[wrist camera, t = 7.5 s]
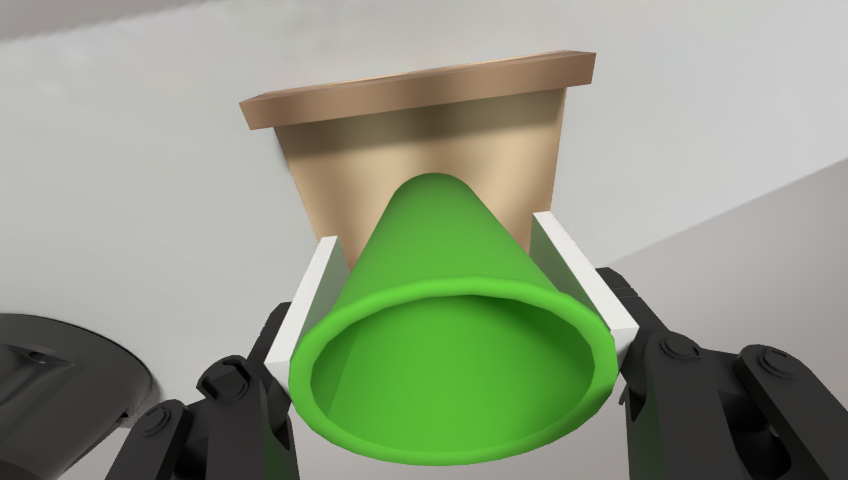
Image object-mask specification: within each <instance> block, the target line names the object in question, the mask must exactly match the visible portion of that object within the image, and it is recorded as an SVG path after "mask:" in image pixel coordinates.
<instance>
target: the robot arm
mask: <svg viewBox="0 0 848 480" xmlns="http://www.w3.org/2000/svg"><path fill="white" fill-rule="evenodd" d="M529 257H530V258H531V259H532V260H533V262H534V263H535V264H536V265H537V266H538V267H539V268H540V270H541V271H542V272H543V273H544V274H545V275H546V277H547V278H548V279H549V280H550V281H551V282H552V284H553V285H554V286H555V287H556V288H557V289H558V291H560V292H563V293H566V294H568V295H570V296H572V297H573V298H575V299H576V300H577V301H579V302H580V303H582V304H583V305H585V306H586V307H587V308H589V309H590V310H592V311H593V312H595V313H596V314H597V315H599V317H600V318H601V320H602V321H603V323H604V324H605V326H606V327H607V329H608V330H609V332H610V333H611V334H612V336H613V337H614V340H615V347H616V354H617V361H618V374H617V377H618V375H619V372H621V374H622V375H623V377H624V379H625V380H626V382H627V384H626V386H625V388H624V390H623V392H622V394H621V397H620V399H619V404H620V405H623V403H624V401H625V409H626V426H627V443H628V459H629V476H630V480H848V411H847V410H846V409H845V408H844V407H843V406H842V405H841V404H840V402H839V401H838V400H837V399H836V398H835V397H834V396H833V395H832V394H831V392H830V391H829V390H828V389H827V388H826V387H825V386H824V385H823V384H822V382H821V381H820V380H819V379H818V378H817V377H816V376H815V375H814V374H813V373H812V371H811V370H810V369H809V368H808V367H806V366H805V365H804V364H803V363H802V362H801V361H800V360H798V359H796V358H795V357H792V356H791V355H789V354H787V353H786V352H784V351H781V350H779V349H776V348H773V347H770V346H765V345H760V344H756V345H748V346H746V347H745V348H743V349H742V350H741V352H740V353H739V354H732V353H726V352H720V351H713V350H708V349H704V348H701V347H700V346H699V345H698V344H697V343H695V342H694V341H693V340H691V339H689V338H688V337H686V336H684V335H681V334H678V333H676V332H672V331H670V330H668V329H667V328H666V326H665V325H664V324H663V323H662V322H661V320H660V319H659V318H658V317H657V316H656V315H655V314H654V312H653V311H652V310H651V309H650V308H649V307H648V306H647V304H646V303H645V302H644V301H643V300H642V299H641V297H638V294H637V293H636V292H635V291H634V289H633V288H631V286H630V285H629V284H628V283H627V281H626V280H625V279H624V278H623V277H622V276H621V275H620V274H618V273H617V272H615V271H613V270H612V269H610V268H609V267H606V268H596V269H594V268H593V266H592V265H591V264H590V263H589V261H588V260H587V259H586V257H585V256H584V255H583V253H582V252H581V251H580V250H579V248H578V247H577V246H576V244H575V243H574V242H573V241H572V239H571V238H570V237H569V235H568V234H567V233H566V232H565V230H564V229H563V228H562V226H561V225H560V224H559V223H558V221H557V220H556V219H555V217H554V216H553V215H552V214H551V212H550V211H546V212H537V213H533V216H532V226H531V236H530V246H529ZM350 274H351V273H350V270H349V267H348V264H347V261H346V258H345V255H344V253H343V250H342V247H341V244H340V241H339V238H338V236H330V237H322V239H321V241H320V243H319V245H318V247H317V249H316V252H315V254H314V256H313V258H312V260H311V262H310V265H309V267H308V269H307V271H306V273H305V275H304V278H303V280H302V282H301V284H300V286H299V288H298V290H297V293H296V295H295V297H294V299H293V301H292V302H284V303H280V304H279V305H278V306H277V307H276V308H275V309H274V310H273V311H272V313H271V314H270V316H269V318H268V320H267V321H266V323H265V327H263V329H262V331H261V333H260V336H259V337H258V339H257V341H256V343H255V344H254V346H253V348H252V350H251V352H250V354H249V356H248V358H247V360H246V359H245V358H244V357H242V356H240V355H231V356H228V357H225V358H222V359H221V360H219V361H217V362H215V363H214V364H212V365H211V366H210V367H209V368H208V369H207V370H206V371H205V372H204V373H203V374H202V376H201V377H200V379H199V380H198V383H197V386H196V388H197V389H198V390H199V391H200V392H201V393H202V394H203V395H204V396H205V397H206V398H205V399H203V400H200V401H198V402H195V403H192V404H190V405H187V406H186V405H184V404H183V403H182V402H181V401H179V400H176V399H172V400H166V401H164V402H162V403H159V404H157V405H156V406H154V407H153V408H151V409H150V410H148V411H147V412H146V413H145V414H144V415H143V416H142V417H141V418H140V419H139V420H138V421H137V422H136V423H135V425H134V426H133V428H132V429H131V431H130V432H129V435H128V436H127V438H126V440H125V442H124V444H123V446H122V448H121V450H120V452H119V453H118V455H117V457H116V459H115V461H114V463H113V465H112V467H111V468H110V470H109V472H108V474H107V476H106V478H105V480H300V477H299V470H298V465H297V457H296V450H295V444H294V437H293V430H292V424H291V420H290V417H289V415H288V414H287V413H288V410H289V407H290V405H291V402H292V403H293V401H292V398H291V395H290V392H289V386H288V378H289V367H290V359H291V357H292V355H293V353H294V352H295V350H296V348H297V346H298V345H299V343H300V341H301V339H302V337H303V336H304V334H305V333H306V332H307V331H309V330H310V329H311V328H312V327H313V326H314V325H316V324H317V323H318V322H319V321H320V320H321V319H322V318H324V317H325V316H326V315H327V314H328V313H329V312H330V311H331V309H332V308H333V306H334V304H335V302H336V300H337V298H338V296H339V294H340V293H341V291H342V289H343V287H344V285H345V283H346V281H347V279H348V278H349V276H350ZM616 379H617V378H616ZM615 382H616V381H615ZM151 386H152V384H151V379H150V376H149V374H148V373H147V371H146V370H145V368H144V367H143V366H142V365H141V364H140V363H139V362H138V361H137V360H136V359H135V358H134V357H133V356H131V355H130V354H129V353H127V352H126V351H124V350H123V349H121V348H120V347H118V346H117V345H115V344H113V343H111V342H109V341H108V340H106V339H104V338H102V337H99V336H97V335H95V334H93V333H90V332H88V331H85V330H83V329H80V328H77V327H74V326H71V325H68V324H65V323H61V322H58V321H54V320H50V319H45V318H40V317H34V316H28V315H19V314H0V480H57V479H58V478H59V477H60V476H61V475H62V474H64V473H65V472H66V471H67V470H68V469H69V468H71V467H72V466H73V465H74V464H75V463H77V462H78V461H79V460H80V459H81V458H83V457H84V456H85V455H86V454H87V453H89V452H90V451H91V450H92V449H93V448H94V447H96V446H97V445H98V444H99V443H100V442H102V441H103V440H104V439H105V438H106V437H107V436H109V435H110V434H111V433H112V432H113V431H114V430H116V429H117V428H118V427H119V426H120V425H121V424H123V423H124V422H125V421H127V420H128V419H129V418H130V417H131V416H132V415H133V414H134V413H135V412H136V410H137V409H138V408H139V406H140V405H141V404H142V402H143V401H144V400H145V398H146V397H147V395H148V394H149V393H150V391H151ZM293 405H294V403H293Z"/></svg>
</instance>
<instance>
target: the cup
mask: <svg viewBox="0 0 848 480" xmlns="http://www.w3.org/2000/svg"><path fill="white" fill-rule="evenodd" d="M617 374H618V361H617V354H616V347H615V340H614V337H613V336H612V334H611V333H610V332H609V330H608V329H607V327H606V326H605V324H604V323H603V321H602V320H601V318H600V317H599V315H597V314H596V313H595V312H593V311H592V310H590V309H589V308H587V307H586V306H585V305H583V304H582V303H580V302H579V301H577V300H576V299H575V298H573V297H572V296H570V295H568V294H566V293H563V292H560V291H558V289H557V288H556V287H555V286H554V285H553V284H552V282H551V281H550V280H549V279H548V278H547V277H546V275H545V274H544V273H543V272H542V271H541V270H540V268H539V267H538V266H537V265H536V264H535V263H534V262H533V260H532V259H531V258H530V257H529V256H528V255H527V253H526V252H525V251H524V250H523V249H522V248H521V246H520V245H519V244H518V243H517V242H516V241H515V239H514V238H513V237H512V236H511V235H510V234H509V232H508V231H507V230H506V229H505V228H504V227H503V225H502V224H501V223H500V222H499V221H498V220H497V218H496V217H495V216H494V215H493V214H492V213H491V211H490V210H489V209H488V208H487V207H486V206H485V204H484V203H483V202H482V201H481V200H480V199H479V197H478V196H477V195H476V194H475V193H474V192H473V190H472V189H471V188H470V187H469V186H468V185H467V184H466V183H464V182H463V181H462V180H460V179H459V178H456V177H454V176H451V175H449V174H443V173H425V174H421V175H418V176H415V177H413V178H411V179H409V180H408V181H406V182H404V183H403V184H402V185H401V186H400V187H399V188H398V189H397V190H396V191H395V192H394V194H393V196H392V197H391V199H390V201H389V203H388V205H387V207H386V208H385V210H384V212H383V214H382V216H381V218H380V220H379V222H378V223H377V225H376V227H375V229H374V231H373V233H372V235H371V236H370V238H369V240H368V242H367V244H366V246H365V248H364V250H363V251H362V253H361V255H360V257H359V259H358V261H357V263H356V265H355V266H354V268H353V270H352V272H351V274H350V276H349V278H348V279H347V281H346V283H345V285H344V287H343V289H342V291H341V293H340V294H339V296H338V298H337V300H336V302H335V304H334V306H333V308H332V309H331V311H330V312H329V313H328V314H327V315H326V316H325V317H324V318H322V319H321V320H320V321H319V322H318V323H317V324H316V325H314V326H313V327H312V328H311V329H310V330H309V331H307V332H306V333H305V334H304V336H303V337H302V339H301V341H300V343H299V345H298V346H297V348H296V350H295V352H294V353H293V355H292V357H291V359H290V367H289V378H288V386H289V392H290V395H291V398H292V401H293V403H294V406H295V409H296V411H297V413H298V414H299V416H300V417H301V418H302V419H303V420H304V421H305V422H306V423H307V425H308V426H309V427H310V428H311V429H312V430H313V431H315V432H316V433H317V434H319V435H321V436H322V437H323V438H325V439H326V440H328V441H329V442H331V443H332V444H335V445H337V446H340V447H342V448H344V449H346V450H349V451H351V452H353V453H356V454H359V455H363V456H367V457H370V458H374V459H377V460H381V461H387V462H394V463H401V464H408V465H424V466H450V465H468V464H475V463H481V462H488V461H494V460H500V459H503V458H507V457H511V456H515V455H518V454H522V453H526V452H529V451H531V450H534V449H537V448H539V447H542V446H544V445H547V444H550V443H552V442H554V441H556V440H558V439H560V438H561V437H563V436H565V435H567V434H569V433H570V432H572V431H574V430H575V429H577V428H578V427H580V426H581V425H582V424H584V423H585V422H586V421H587V420H588V419H590V418H591V417H592V416H593V415H595V414H596V413H597V412H598V411H599V409H600V408H601V406H602V405H603V404H604V403H605V401H606V400H607V399H608V397H609V396H610V395H611V393H612V390H613V387H614V384H615V381H616V378H617Z"/></svg>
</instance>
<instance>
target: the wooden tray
mask: <svg viewBox="0 0 848 480" xmlns="http://www.w3.org/2000/svg"><path fill="white" fill-rule="evenodd" d="M595 58H596V53H591V52H579V51H567V50H564V51H557V52H550V53H543V54H535V55H528V56H521V57H514V58H507V59H500V60H493V61H486V62H479V63H472V64H464V65H457V66H450V67H443V68H436V69H429V70H422V71H415V72H408V73H401V74H393V75H386V76H379V77H372V78H365V79H358V80H351V81H344V82H337V83H329V84H322V85H315V86H308V87H301V88H294V89H287V90H280V91H273V92H266V93H264V94H261V95H258V96H256V97H253V98H250V99H248V100H245V101H243V102H240V103H239V105H240V107H241V110H242V112H243V114H244V116H245V119H246V121H247V123H248V126H249V128H250V130H255V129H262V128H269V127H274V130H275V132H276V135H277V137H278V140H279V143H280V145H281V148H282V150H283V153H284V155H285V158H286V160H287V163H288V166H289V168H290V171H291V173H292V176H293V178H294V181H295V184H296V186H297V189H298V191H299V194H300V196H301V199H302V202H303V204H304V207H305V209H306V212H307V214H308V217H309V219H310V222H311V225H312V227H313V230H314V232H315V235H316V237H317V240H318V243H320V241H321V239H322V237H330V236H338V238H339V241H340V244H341V247H342V250H343V253H344V255H345V258H346V261H347V264H348V267H349V270H350V273H351V272H352V270H353V268H354V266H355V265H356V263H357V261H358V259H359V257H360V255H361V253H362V251H363V250H364V248H365V246H366V244H367V242H368V240H369V238H370V236H371V235H372V233H373V231H374V229H375V227H376V225H377V223H378V222H379V220H380V218H381V216H382V214H383V212H384V210H385V208H386V207H387V205H388V203H389V201H390V199H391V197H392V196H393V194H394V192H395V191H396V190H397V189H398V188H399V187H400V186H401V185H402V184H403V183H404V182H406V181H408V180H409V179H411V178H413V177H415V176H418V175H421V174H425V173H443V174H449V175H451V176H454V177H456V178H459V179H460V180H462V181H463V182H464V183H466V184H467V185H468V186H469V187H470V188H471V189H472V190H473V192H474V193H475V194H476V195H477V196H478V197H479V199H480V200H481V201H482V202H483V203H484V204H485V206H486V207H487V208H488V209H489V210H490V211H491V213H492V214H493V215H494V216H495V217H496V218H497V220H498V221H499V222H500V223H501V224H502V225H503V227H504V228H505V229H506V230H507V231H508V232H509V234H510V235H511V236H512V237H513V238H514V239H515V241H516V242H517V243H518V244H519V245H520V246H521V248H522V249H523V250H524V251H525V252H526V253H527V255H528V256H529V246H530V236H531V226H532V216H533V213H537V212H546V211H550V208H551V201H552V193H553V186H554V179H555V171H556V164H557V156H558V149H559V142H560V134H561V127H562V119H563V112H564V105H565V97H566V90H567V87H571V86H579V85H586V84H591V81H592V75H593V69H594V64H595Z"/></svg>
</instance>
